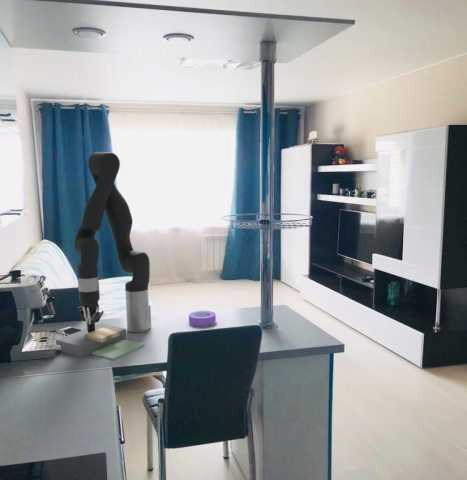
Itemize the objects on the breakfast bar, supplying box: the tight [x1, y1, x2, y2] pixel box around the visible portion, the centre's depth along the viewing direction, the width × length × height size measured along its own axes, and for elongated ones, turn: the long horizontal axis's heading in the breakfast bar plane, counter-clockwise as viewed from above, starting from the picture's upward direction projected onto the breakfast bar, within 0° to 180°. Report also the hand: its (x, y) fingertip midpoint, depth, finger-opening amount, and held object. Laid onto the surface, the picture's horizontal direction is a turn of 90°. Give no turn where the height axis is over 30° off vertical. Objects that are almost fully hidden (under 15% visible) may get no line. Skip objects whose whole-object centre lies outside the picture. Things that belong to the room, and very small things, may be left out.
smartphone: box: [59, 326, 83, 336], centre depth 193 cm, size 7×16×1 cm, turn 55°
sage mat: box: [91, 338, 146, 361], centre depth 174 cm, size 16×11×1 cm
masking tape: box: [188, 310, 217, 328], centre depth 205 cm, size 12×12×4 cm
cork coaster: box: [85, 328, 120, 343], centre depth 177 cm, size 9×9×2 cm
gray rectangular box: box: [55, 322, 127, 358], centre depth 180 cm, size 22×14×4 cm, turn 148°
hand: (91, 332), depth 180 cm, fingers closed
